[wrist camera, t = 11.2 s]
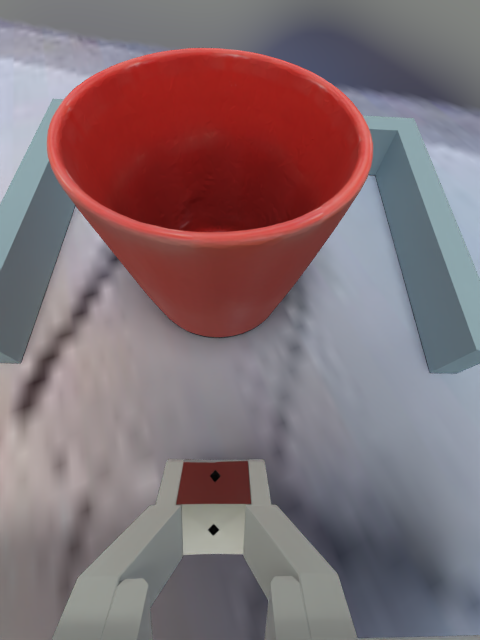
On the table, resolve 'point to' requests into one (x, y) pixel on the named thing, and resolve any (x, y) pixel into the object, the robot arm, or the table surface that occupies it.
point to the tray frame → (400, 206)
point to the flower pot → (211, 176)
